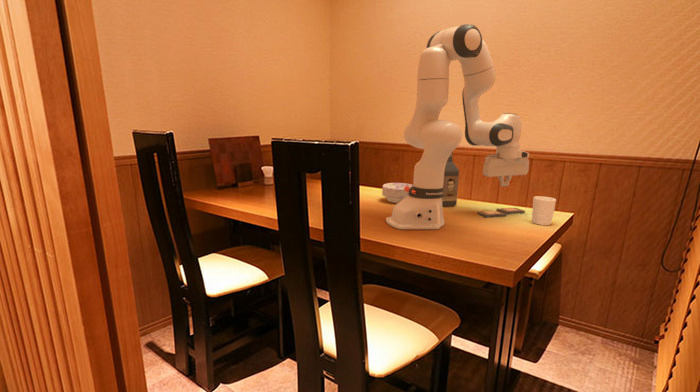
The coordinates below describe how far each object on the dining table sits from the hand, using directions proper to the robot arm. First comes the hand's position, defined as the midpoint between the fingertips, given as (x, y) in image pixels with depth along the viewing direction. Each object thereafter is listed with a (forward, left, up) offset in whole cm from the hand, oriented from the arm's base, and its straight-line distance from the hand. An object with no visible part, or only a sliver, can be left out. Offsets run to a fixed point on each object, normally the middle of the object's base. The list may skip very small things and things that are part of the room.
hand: (504, 186), depth 156 cm
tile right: (+6, +2, -12) cm, 14 cm away
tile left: (-6, -1, -12) cm, 13 cm away
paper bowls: (-35, +31, -12) cm, 48 cm away
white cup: (+6, -16, -12) cm, 21 cm away
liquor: (-16, +20, -12) cm, 28 cm away
